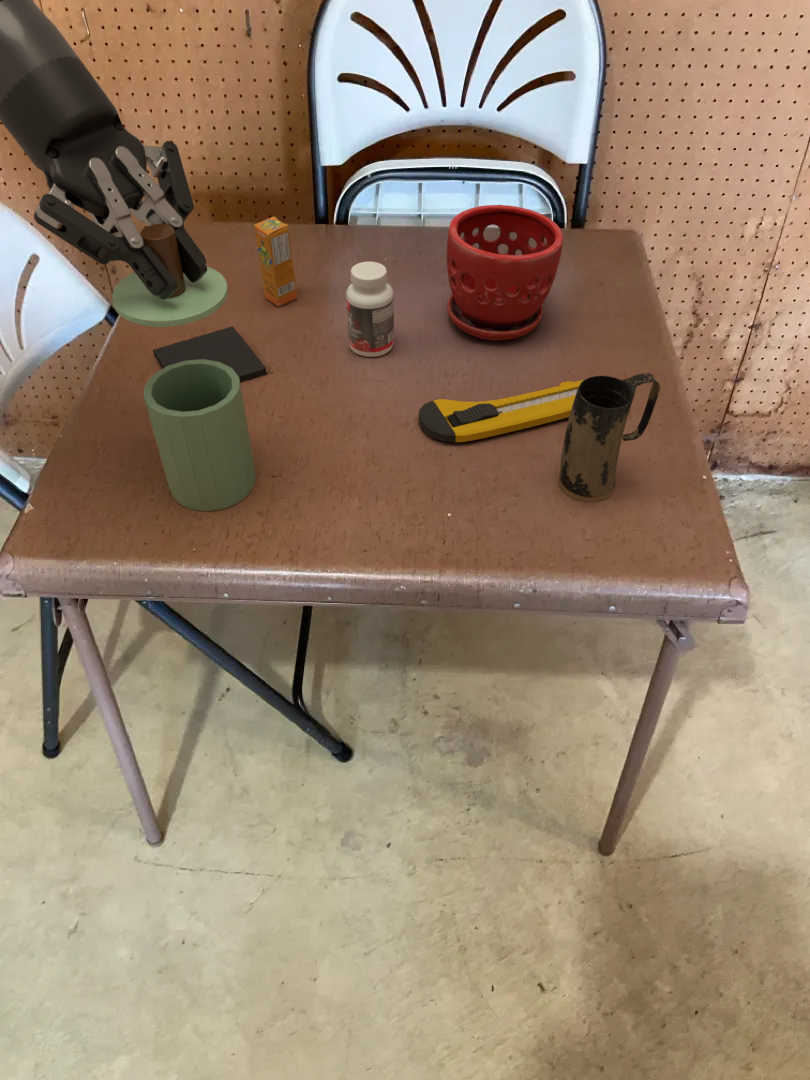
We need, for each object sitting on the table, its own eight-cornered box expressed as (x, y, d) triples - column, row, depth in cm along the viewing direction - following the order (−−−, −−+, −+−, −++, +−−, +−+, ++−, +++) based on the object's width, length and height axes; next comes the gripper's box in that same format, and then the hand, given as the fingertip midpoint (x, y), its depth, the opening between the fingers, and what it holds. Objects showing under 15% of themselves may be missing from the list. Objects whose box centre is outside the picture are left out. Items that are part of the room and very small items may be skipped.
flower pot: (480, 362, 98) (488, 267, 89) (424, 308, 105) (426, 216, 97) (572, 333, 102) (587, 239, 93) (512, 283, 110) (521, 192, 101)
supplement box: (261, 298, 107) (251, 222, 100) (284, 289, 109) (275, 214, 101) (277, 309, 105) (267, 233, 98) (299, 299, 107) (291, 224, 100)
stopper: (135, 346, 65) (116, 272, 60) (101, 292, 70) (81, 220, 66) (246, 314, 68) (235, 242, 64) (205, 265, 74) (193, 195, 69)
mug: (568, 506, 81) (588, 406, 72) (548, 468, 85) (565, 369, 76) (644, 493, 82) (673, 393, 74) (621, 456, 86) (646, 358, 77)
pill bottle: (339, 344, 100) (334, 269, 93) (373, 327, 102) (371, 252, 95) (369, 364, 97) (366, 287, 90) (403, 346, 100) (403, 270, 93)
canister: (187, 522, 80) (162, 427, 71) (158, 471, 85) (131, 376, 76) (269, 492, 82) (254, 397, 74) (236, 444, 87) (218, 349, 79)
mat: (183, 400, 92) (182, 394, 92) (154, 355, 98) (152, 349, 98) (267, 373, 96) (266, 367, 95) (233, 331, 102) (232, 325, 101)
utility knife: (411, 415, 91) (412, 400, 89) (595, 371, 96) (598, 357, 95) (436, 454, 86) (436, 439, 85) (626, 406, 92) (630, 391, 90)
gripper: (-34, 82, 56) (136, 303, 60) (125, 30, 64) (266, 228, 68) (-52, 146, 62) (104, 343, 66) (96, 91, 70) (227, 270, 74)
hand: (185, 284), depth 67 cm, fingers closed on stopper, 2 cm apart
